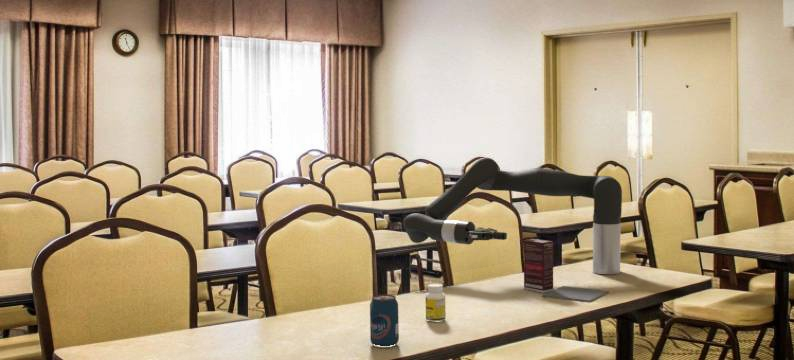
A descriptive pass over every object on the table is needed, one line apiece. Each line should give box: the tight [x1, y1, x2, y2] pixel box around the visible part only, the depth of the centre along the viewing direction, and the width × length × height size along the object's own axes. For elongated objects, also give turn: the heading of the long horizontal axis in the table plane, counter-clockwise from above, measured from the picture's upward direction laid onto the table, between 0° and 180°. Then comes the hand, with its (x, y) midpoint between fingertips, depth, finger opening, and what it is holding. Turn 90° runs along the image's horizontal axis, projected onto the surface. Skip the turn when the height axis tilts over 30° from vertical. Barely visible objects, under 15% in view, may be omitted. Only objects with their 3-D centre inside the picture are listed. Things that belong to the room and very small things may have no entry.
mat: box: [542, 285, 610, 303], centre depth 276 cm, size 16×15×1 cm
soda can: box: [369, 294, 400, 346], centre depth 221 cm, size 7×7×12 cm
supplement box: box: [523, 238, 554, 294], centre depth 282 cm, size 9×5×16 cm, turn 39°
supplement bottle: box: [425, 283, 447, 322], centre depth 245 cm, size 5×5×10 cm
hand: (505, 236), depth 288 cm, fingers closed
